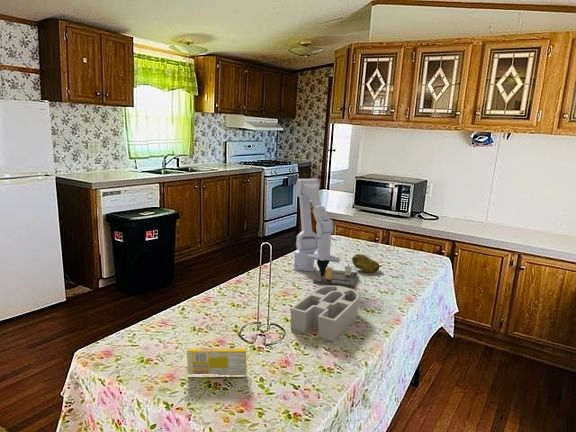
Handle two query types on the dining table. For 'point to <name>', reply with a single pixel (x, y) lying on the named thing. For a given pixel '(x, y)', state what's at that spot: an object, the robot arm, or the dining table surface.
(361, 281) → the dining table surface
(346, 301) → the grey compartment organizer
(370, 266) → the potato
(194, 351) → the candy box
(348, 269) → the fader far
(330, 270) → the fader near
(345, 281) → the console
